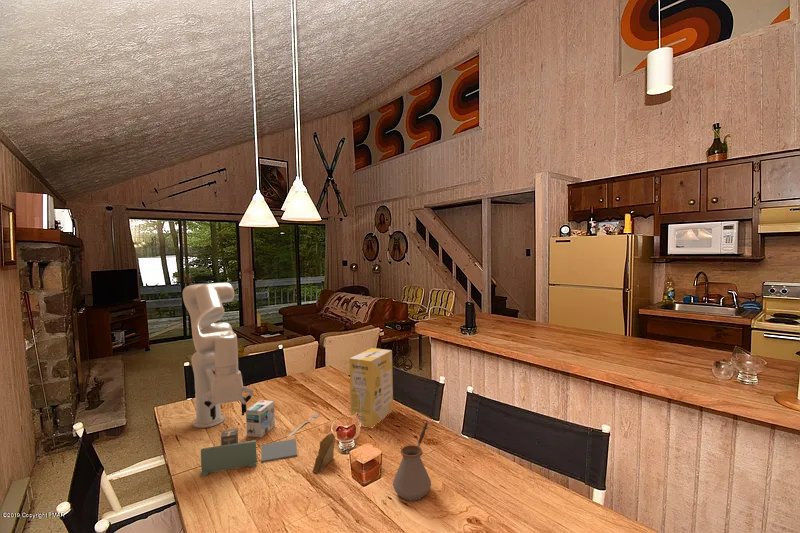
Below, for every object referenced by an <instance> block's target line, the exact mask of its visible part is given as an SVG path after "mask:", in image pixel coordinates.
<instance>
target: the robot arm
mask: <svg viewBox="0 0 800 533" xmlns="http://www.w3.org/2000/svg"><path fill="white" fill-rule="evenodd" d="M234 299H235V289H234V287H233V285H232V284H231V283H230V282H215V283H213V282H212V283H198V284H191V285H187V286H185V287H184V288H183V290H182V300H183V304H184V306H185V308H186V310H187V311H188V315H189V316H190V317H189V318H190V323H191V324H190V325H191V334H192V341H193V345H194V349H195V351H196V352H194V353H193V354H192V356H191V367H192V371H193V376H194V392H195V394H194V396H195V416H196V417H195V419H193V420H192V422H191V424H192V427H194V428H197V429H203V428H204V429H206V428H211V427H215V426H217V425H219V424H221V423H223V422H224V421H225V419H226V415H225V414H224V413H222V410H221V404H227V403H234V402H240V403H241V416H245V414H246V410H247V403H248V402H249V401H250V400H251V399H252V396H253V395H254V389H253V388H250V387H247V386H245V385H244V383H243V375H242V372H241V370H239V350H238V345H239V344H238V336H237V333H235V332H234V330H233V328H232V325H231V324H230V323H229V322H227V321H223V322H221V321H220V322H218V321H219V320H221V319H222V318H223V317H224V316H225V308H224V306H223V304H224V303H230V302H232V301H234ZM244 393H248V395H247V396H244Z"/></svg>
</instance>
